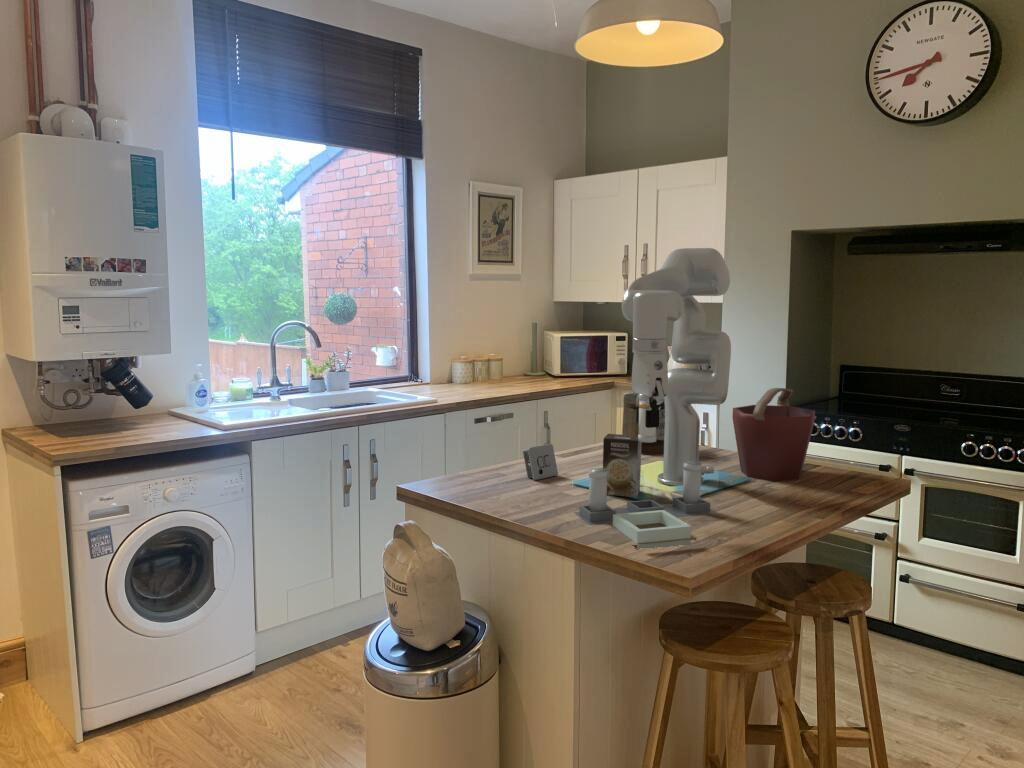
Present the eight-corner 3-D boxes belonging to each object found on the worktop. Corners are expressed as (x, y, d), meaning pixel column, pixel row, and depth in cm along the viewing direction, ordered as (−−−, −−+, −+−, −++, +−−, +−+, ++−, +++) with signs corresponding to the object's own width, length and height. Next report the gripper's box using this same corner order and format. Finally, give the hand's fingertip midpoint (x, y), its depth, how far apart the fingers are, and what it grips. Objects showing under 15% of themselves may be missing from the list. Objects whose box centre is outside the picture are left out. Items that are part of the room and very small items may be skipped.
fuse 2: (694, 505, 188) (695, 460, 186) (703, 510, 184) (705, 464, 182) (678, 506, 186) (680, 462, 185) (687, 511, 182) (689, 465, 181)
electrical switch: (534, 481, 217) (532, 448, 216) (522, 479, 220) (520, 447, 220) (558, 476, 223) (556, 443, 222) (546, 474, 227) (544, 442, 226)
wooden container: (658, 456, 248) (659, 388, 245) (614, 451, 255) (616, 385, 252) (673, 448, 260) (675, 383, 258) (631, 443, 268) (633, 380, 265)
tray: (663, 527, 176) (663, 509, 175) (690, 544, 164) (691, 526, 163) (612, 531, 172) (613, 514, 172) (637, 550, 160) (637, 531, 160)
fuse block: (695, 507, 191) (695, 493, 191) (716, 519, 181) (717, 504, 181) (573, 518, 182) (573, 503, 182) (589, 531, 173) (589, 516, 172)
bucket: (766, 461, 241) (769, 381, 238) (832, 475, 223) (837, 389, 220) (715, 473, 226) (718, 388, 223) (782, 488, 209) (786, 396, 205)
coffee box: (600, 499, 198) (601, 437, 196) (606, 493, 204) (607, 433, 202) (636, 503, 195) (637, 440, 193) (640, 496, 201) (642, 435, 199)
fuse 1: (602, 513, 181) (603, 467, 179) (609, 518, 177) (610, 471, 175) (585, 515, 180) (586, 468, 178) (592, 520, 176) (593, 472, 174)
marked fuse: (651, 438, 182) (652, 392, 181) (659, 441, 178) (660, 394, 177) (634, 439, 181) (635, 392, 179) (642, 443, 177) (643, 395, 175)
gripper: (682, 348, 170) (679, 431, 172) (647, 342, 186) (646, 418, 188) (650, 349, 168) (648, 433, 170) (618, 343, 183) (617, 420, 186)
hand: (647, 424), depth 179 cm, fingers closed on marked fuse, 4 cm apart
